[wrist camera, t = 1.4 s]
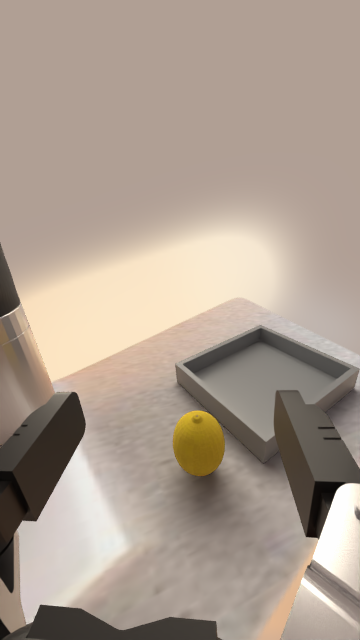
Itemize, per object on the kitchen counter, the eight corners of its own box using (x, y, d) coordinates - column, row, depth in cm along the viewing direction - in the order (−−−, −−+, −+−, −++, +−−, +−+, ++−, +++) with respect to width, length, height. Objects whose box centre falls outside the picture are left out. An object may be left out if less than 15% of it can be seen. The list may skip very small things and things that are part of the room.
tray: (177, 381, 43) (175, 363, 41) (259, 340, 52) (260, 325, 51) (263, 463, 29) (265, 442, 28) (353, 388, 39) (359, 368, 37)
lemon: (233, 461, 30) (235, 410, 26) (206, 503, 26) (204, 450, 22) (194, 437, 33) (191, 389, 29) (165, 471, 29) (158, 421, 26)
